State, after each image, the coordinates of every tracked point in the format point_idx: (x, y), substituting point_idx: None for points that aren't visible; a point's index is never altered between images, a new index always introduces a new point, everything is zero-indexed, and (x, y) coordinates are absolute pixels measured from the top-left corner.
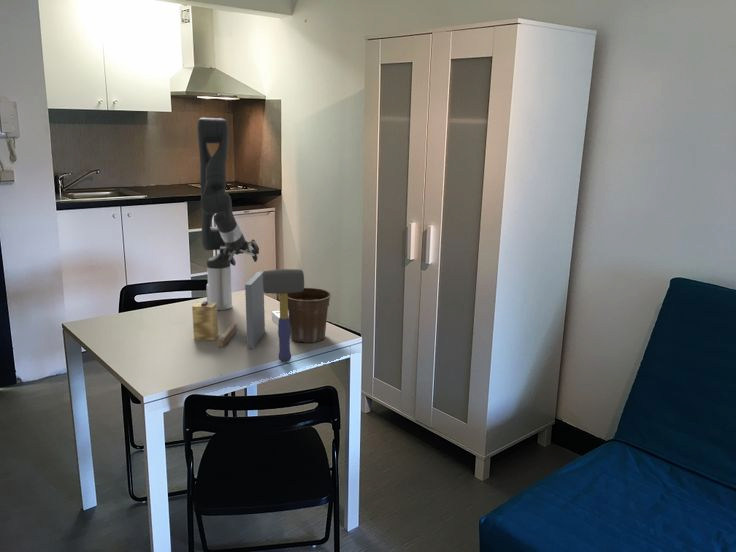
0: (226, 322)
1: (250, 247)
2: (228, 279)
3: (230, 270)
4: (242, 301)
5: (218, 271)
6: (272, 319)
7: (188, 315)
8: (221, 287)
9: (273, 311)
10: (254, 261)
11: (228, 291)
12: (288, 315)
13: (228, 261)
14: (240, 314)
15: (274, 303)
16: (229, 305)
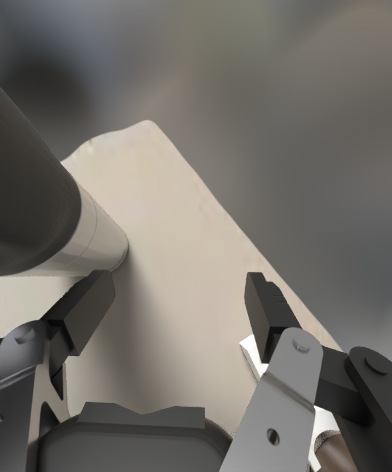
0: (132, 381)
1: (313, 416)
2: (96, 249)
3: (91, 216)
4: (147, 199)
5: (23, 274)
6: (242, 348)
7: (13, 325)
8: (79, 273)
9: (252, 350)
10: (246, 306)
11: (109, 257)
12: (312, 436)
13: (55, 235)
14: (158, 306)
15: (222, 215)
16: (122, 259)
